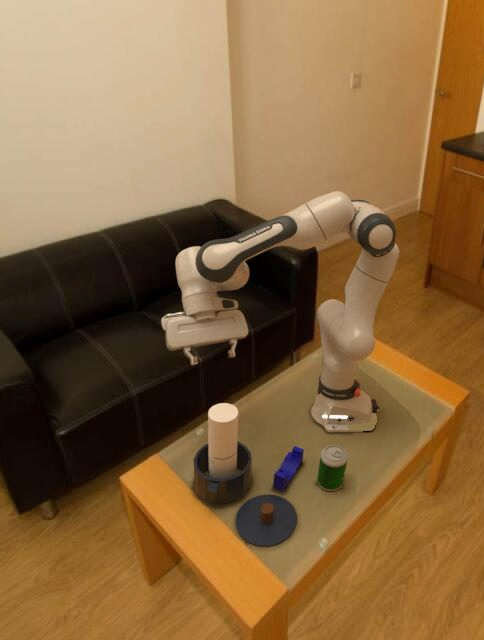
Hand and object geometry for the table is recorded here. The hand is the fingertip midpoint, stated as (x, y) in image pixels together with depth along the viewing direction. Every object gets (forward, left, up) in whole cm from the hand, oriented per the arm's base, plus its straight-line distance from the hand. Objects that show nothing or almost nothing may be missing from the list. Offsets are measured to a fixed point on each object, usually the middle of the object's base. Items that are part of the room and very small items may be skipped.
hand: (213, 360), depth 125 cm
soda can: (-34, +3, -35) cm, 49 cm away
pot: (-5, +8, -35) cm, 36 cm away
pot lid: (-19, +18, -34) cm, 43 cm away
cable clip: (-21, +3, -35) cm, 41 cm away
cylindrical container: (-5, +8, -34) cm, 36 cm away
